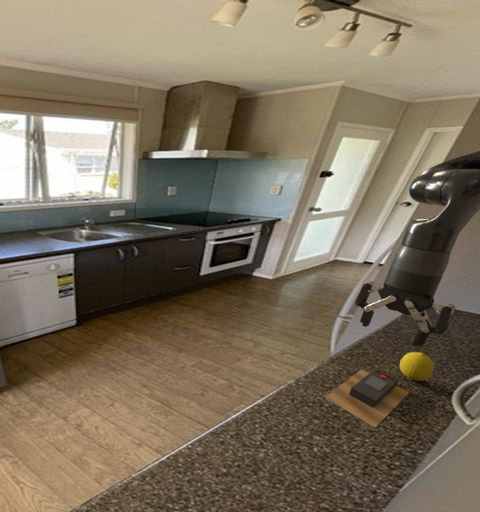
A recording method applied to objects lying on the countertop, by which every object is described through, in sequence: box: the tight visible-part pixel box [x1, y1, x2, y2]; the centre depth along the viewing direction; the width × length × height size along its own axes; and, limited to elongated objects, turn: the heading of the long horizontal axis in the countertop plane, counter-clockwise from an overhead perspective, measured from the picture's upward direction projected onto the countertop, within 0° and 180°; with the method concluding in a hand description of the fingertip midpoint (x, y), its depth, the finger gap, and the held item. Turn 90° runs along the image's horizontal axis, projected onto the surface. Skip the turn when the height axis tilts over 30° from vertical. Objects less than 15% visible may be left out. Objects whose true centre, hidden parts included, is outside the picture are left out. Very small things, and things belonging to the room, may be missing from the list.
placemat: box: [324, 368, 410, 429], centre depth 67 cm, size 20×9×1 cm, turn 119°
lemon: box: [399, 351, 435, 382], centre depth 71 cm, size 6×6×8 cm
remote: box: [349, 368, 400, 408], centre depth 68 cm, size 14×4×2 cm, turn 119°
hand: (389, 334), depth 65 cm, fingers open, 8 cm apart
